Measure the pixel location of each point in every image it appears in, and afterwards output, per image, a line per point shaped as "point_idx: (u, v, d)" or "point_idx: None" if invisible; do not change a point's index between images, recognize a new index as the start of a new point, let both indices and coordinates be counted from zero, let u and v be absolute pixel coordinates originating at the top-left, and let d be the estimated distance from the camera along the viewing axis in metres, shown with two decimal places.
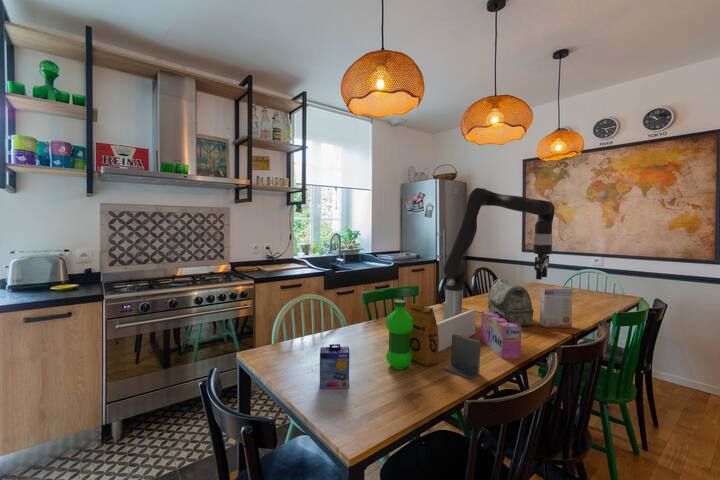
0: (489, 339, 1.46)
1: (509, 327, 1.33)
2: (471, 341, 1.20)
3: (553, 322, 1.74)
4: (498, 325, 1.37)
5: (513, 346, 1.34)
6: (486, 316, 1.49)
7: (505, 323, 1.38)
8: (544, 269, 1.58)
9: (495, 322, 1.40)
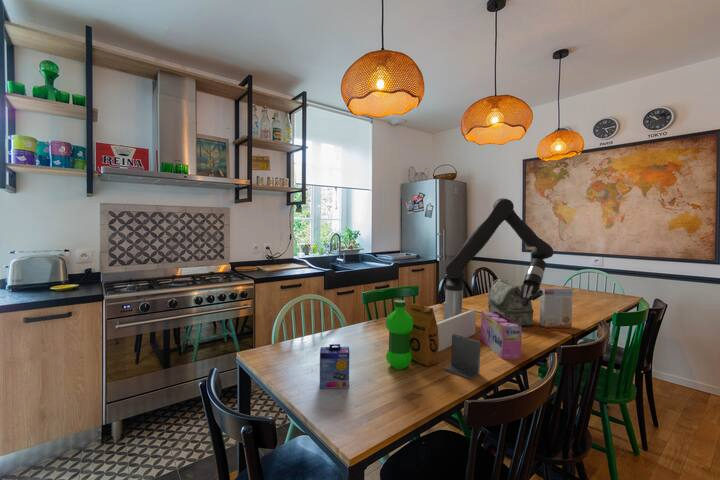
0: (489, 339, 1.46)
1: (509, 327, 1.33)
2: (471, 341, 1.20)
3: (553, 322, 1.74)
4: (498, 325, 1.37)
5: (513, 347, 1.33)
6: (486, 316, 1.49)
7: (505, 323, 1.38)
8: None
9: (495, 322, 1.40)
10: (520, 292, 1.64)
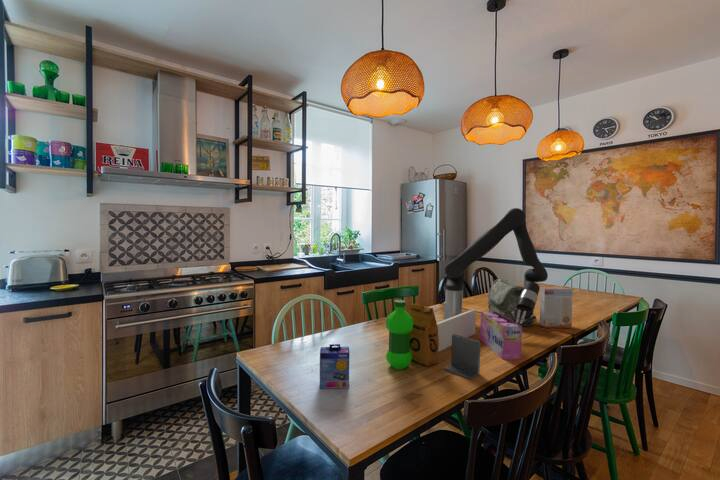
0: (489, 339, 1.45)
1: (510, 327, 1.33)
2: (471, 341, 1.20)
3: (553, 322, 1.74)
4: (498, 325, 1.37)
5: (513, 347, 1.33)
6: (486, 316, 1.49)
7: (505, 323, 1.38)
8: (519, 324, 1.56)
9: (495, 322, 1.40)
10: (513, 317, 1.59)
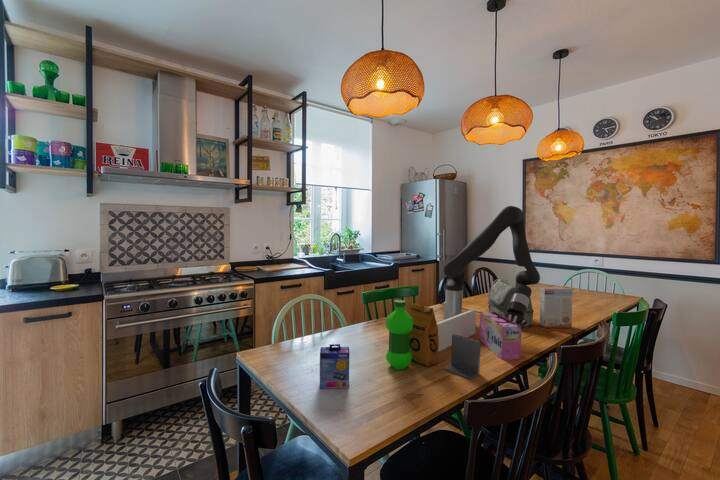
0: (488, 340, 1.45)
1: (509, 328, 1.32)
2: (471, 341, 1.20)
3: (553, 322, 1.74)
4: (498, 326, 1.36)
5: (513, 347, 1.33)
6: (485, 317, 1.48)
7: (504, 324, 1.38)
8: None
9: (494, 323, 1.39)
10: None
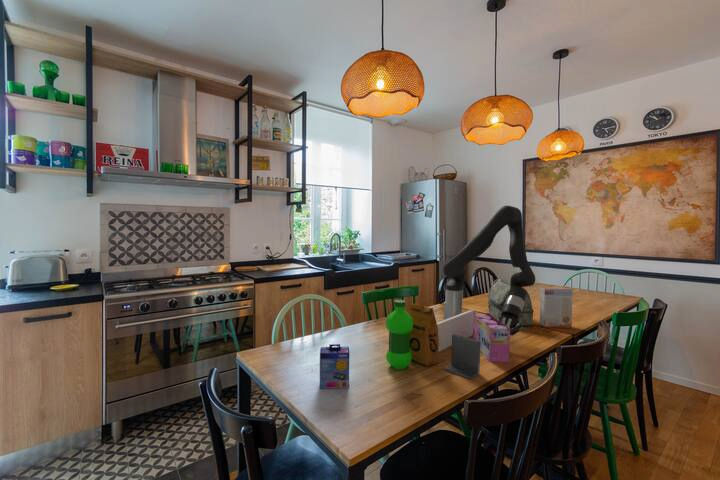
0: None
1: (497, 329, 1.30)
2: (471, 341, 1.20)
3: (553, 322, 1.74)
4: (486, 327, 1.34)
5: (501, 349, 1.30)
6: (477, 318, 1.46)
7: (494, 325, 1.35)
8: None
9: (484, 324, 1.37)
10: None
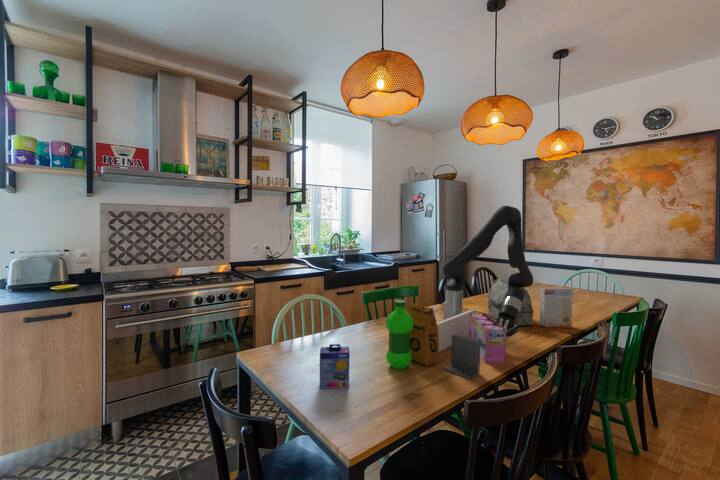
0: None
1: (493, 330, 1.29)
2: (471, 341, 1.20)
3: (553, 322, 1.74)
4: (482, 328, 1.33)
5: (497, 350, 1.29)
6: (473, 318, 1.45)
7: (490, 326, 1.34)
8: None
9: (480, 325, 1.36)
10: None
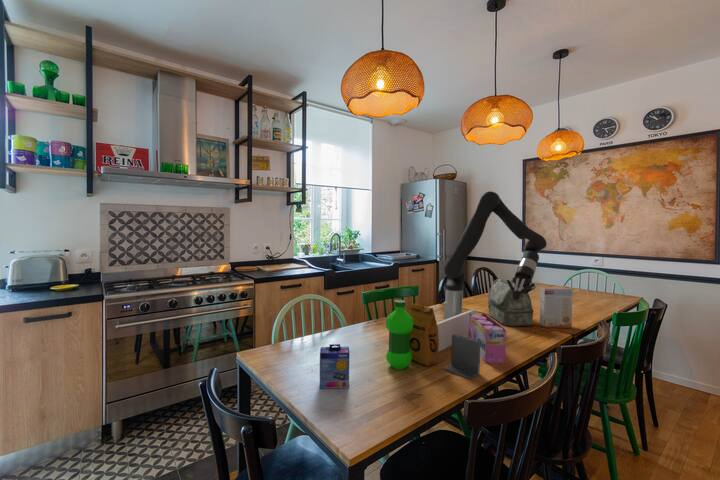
0: None
1: (493, 330, 1.29)
2: (471, 341, 1.20)
3: (553, 322, 1.74)
4: (482, 328, 1.33)
5: (497, 350, 1.29)
6: (472, 319, 1.45)
7: (490, 326, 1.34)
8: None
9: (480, 325, 1.36)
10: (511, 285, 1.56)
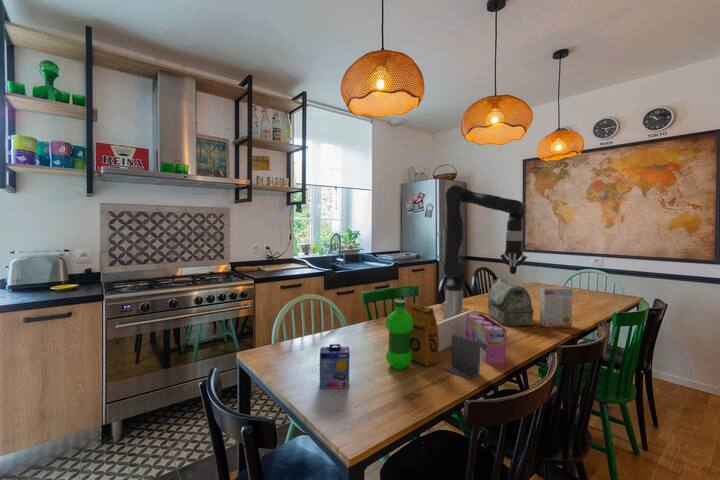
0: None
1: (494, 331, 1.28)
2: (471, 341, 1.20)
3: (553, 322, 1.74)
4: (482, 329, 1.33)
5: (498, 351, 1.29)
6: (471, 319, 1.45)
7: (490, 326, 1.34)
8: None
9: (479, 325, 1.36)
10: (506, 261, 1.70)
